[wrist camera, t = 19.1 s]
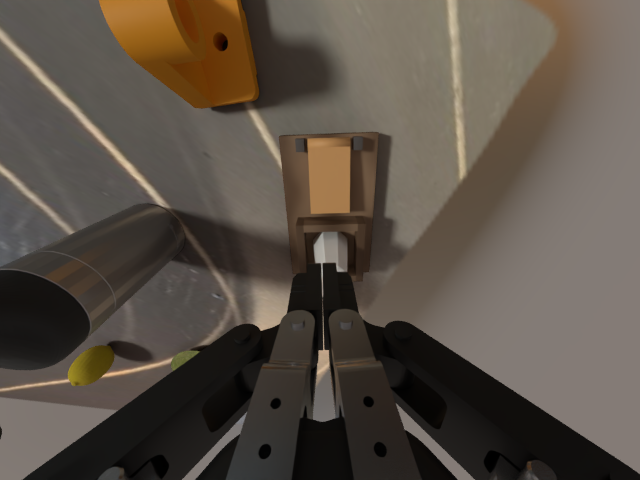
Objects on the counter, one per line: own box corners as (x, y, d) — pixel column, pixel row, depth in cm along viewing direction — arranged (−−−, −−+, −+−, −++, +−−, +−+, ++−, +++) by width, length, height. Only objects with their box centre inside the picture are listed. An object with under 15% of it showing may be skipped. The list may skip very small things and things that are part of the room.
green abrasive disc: (240, 358, 50) (237, 367, 48) (215, 385, 54) (212, 393, 52) (189, 334, 47) (184, 342, 45) (167, 364, 51) (162, 373, 49)
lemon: (121, 358, 51) (88, 398, 43) (93, 349, 49) (54, 388, 42) (126, 343, 48) (92, 381, 41) (97, 332, 47) (57, 370, 40)
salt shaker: (340, 222, 34) (347, 264, 24) (354, 252, 36) (365, 302, 26) (305, 236, 35) (299, 282, 25) (321, 265, 37) (320, 317, 27)
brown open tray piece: (294, 266, 40) (290, 285, 35) (281, 135, 31) (274, 138, 26) (367, 265, 40) (372, 283, 35) (375, 131, 31) (384, 134, 26)
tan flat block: (311, 211, 32) (310, 214, 31) (307, 138, 29) (307, 138, 28) (348, 210, 32) (349, 212, 31) (349, 137, 29) (350, 136, 28)
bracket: (262, 100, 29) (227, 89, 19) (205, 108, 30) (138, 102, 19) (238, -21, 25) (172, -130, 14) (170, -9, 25) (56, -105, 14)
